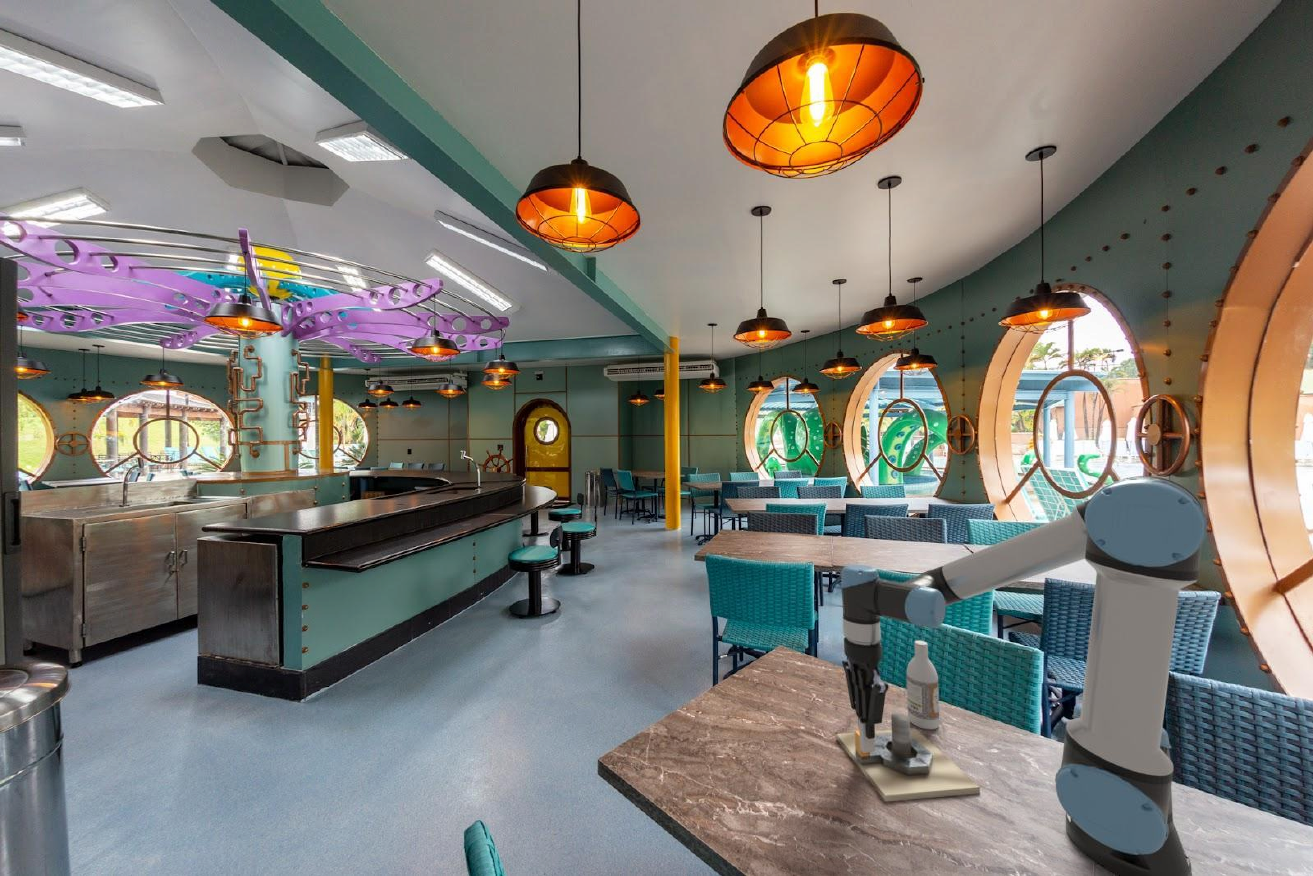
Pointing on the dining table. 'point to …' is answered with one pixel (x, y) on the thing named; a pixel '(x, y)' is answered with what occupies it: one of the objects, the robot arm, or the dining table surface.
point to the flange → (894, 762)
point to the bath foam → (922, 689)
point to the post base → (905, 787)
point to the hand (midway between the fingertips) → (867, 750)
